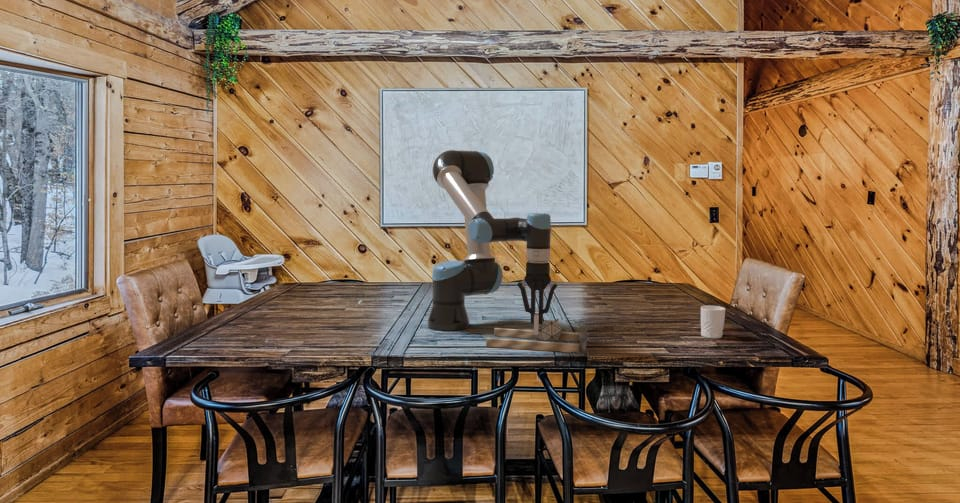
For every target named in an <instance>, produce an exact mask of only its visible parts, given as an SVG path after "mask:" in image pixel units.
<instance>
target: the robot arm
mask: <svg viewBox="0 0 960 503" xmlns="http://www.w3.org/2000/svg"><path fill="white" fill-rule="evenodd" d="M494 170H495V168H494V162H493V161H492V158H491V157H490V156H489V155H488V154H487V153H485V152H484V151H479V150H478V151H477V150H474V151H473V150H455V149H450V150H445V151H444V152H441V153H440V154H439V155H438V156H437V157H436V158H435V161H434V163H433V166H432V174H433V178H434V181H435V182H436V183H437V185H438V186H439V187H440V188H441V189H444V190H445V191H446V193H447V194H448V195H449V197H450V198H451V200H452V201H453V203H454V204H455V205H456V206H457V209H459V211H460V212H461V213H462V215H463V217H464V226H465V237H466V238H465V239H466V250H467V251H466V252H467V255H466V257H465V258H464V259H463V260H453V261H452V260H448V261H444V262H439V263H437V264H436V265H434V267H433V268H432V276H431V280H432V306H431V309H430V312H429V315H428V319H427V327H428V328H429V329H433V330H437V331H459V330H460V331H461V330H464V329H468V328H469V327H470V319H469V315H468V312H467V309H466V306H465V304H466V303H465V299H466V298H465V297H467V296H478V295H489V294H494V293H495V292H497V291H498V290H499V289H500V287H501V285H502V283H503V269H502V267H501V265H500V264H499V263H498V262H496V258H495V256H494V255H492V253H491V245H490V244H491V243H499V242H526V252H525V253H526V254H525V256H526V257H525V258H526V262H525V263H526V264H525V276H524V279H523V280H521V281H519V282H518V283H517V286H518V288H519V290H520V293H521V297H522V302H523V307H524V311H525V312H526V313H528V314H530V324H532V325H533V330H534V335H538V334H539V329H540V325H542V323H543V319H544V315H545V314H547V313H549V310H550V307H551V303H552V301H553V300H552V299H553V295H554V293H555V290H556V289H557V288H558V283H556V282H553V280H552V278H551V274H550V273H551V272H550V269H551V268H550V266H551V263H550V262H549V261H550V260H551V232H552V231H551V229H552V224H551V221H552V220H551V214H549V213H548V212H547V213H546V212H544V213H543V212H542V213H540V212H530V213H528V214H527V216H526V217H527V218H522V217H509V218H507V217H506V218H494V217H493V216H492V214H491V213H490V212H489V210H488V209H487V196H486V190H487V189H488V187H489V183H490V182H491V181H492V179H493V177H494V176H493V175H494V174H495V173H494V172H495V171H494ZM526 285H527V286H528V288H529V289H530V302H529V299H528V295H527V290H526ZM548 287H549V289H550V290H549V292H548V295H547V296H548V297H547V300H546V304H545V308H544V297H545V296H544V295H545V294H544V292H545V291H544V290H545V289H546V288H548ZM537 291H538V312H536V303H537V302H536V300H537V299H536V298H537V297H536V296H537ZM529 303H530V304H529Z"/></svg>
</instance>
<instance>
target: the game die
mask: <svg viewBox="0 0 960 503" xmlns="http://www.w3.org/2000/svg"><path fill="white" fill-rule="evenodd" d="M562 332H565V329H562V327H561V325H560V324H559V318H557V319H555V320H554V319H553V320H549V319H547V320H545V319H544V318H543V323H542V324H540V327H539V333H540V335H541V337H542V339H541V340H542V341H544V342H559V341H560V340H559V338H560V335H561V333H562Z"/></svg>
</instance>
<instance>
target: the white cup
mask: <svg viewBox="0 0 960 503" xmlns="http://www.w3.org/2000/svg"><path fill="white" fill-rule="evenodd" d="M725 315H726V308H725V307H723V306H719V305H707V304H706V305H701V306H700V335H701V336H702V337H705V338H709V339H721V338H722V337H723V330H724V326H725V325H724V324H725V319H726V318H725V317H726V316H725Z"/></svg>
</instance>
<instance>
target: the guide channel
mask: <svg viewBox="0 0 960 503" xmlns="http://www.w3.org/2000/svg"><path fill="white" fill-rule="evenodd" d="M579 330H580V332H567V331H566V332H565V331H562V333H561V335H560V338H559V340H558V342H544V341H543V339H542V337H541V335H540V333H539V334H538V335H534V329H532V330H531V329H517V328H503V327H494V332H493V336H494V337H495V338H494V337H486V341H485V342H486V345H485V346H486V348H500V349H501V348H503V349H515V350H517V349H518V350H530V351H542V352H543V351H545V352H556V351H561V352H560V353H571V352H580V353H579V354H586V353H587V352H586V351H587V342H588V325H580V329H579ZM497 337H499V338H497ZM500 337H501V338H500ZM502 337H505V338H502ZM509 338H510V339H509ZM512 338H513V339H512ZM514 338H518V339H514ZM519 338H520V339H519ZM527 339H533V340H527ZM534 339H535V340H534ZM560 341H564V342H560ZM565 341H567V342H565ZM577 341H579V342H578V343H572V342H577Z"/></svg>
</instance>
